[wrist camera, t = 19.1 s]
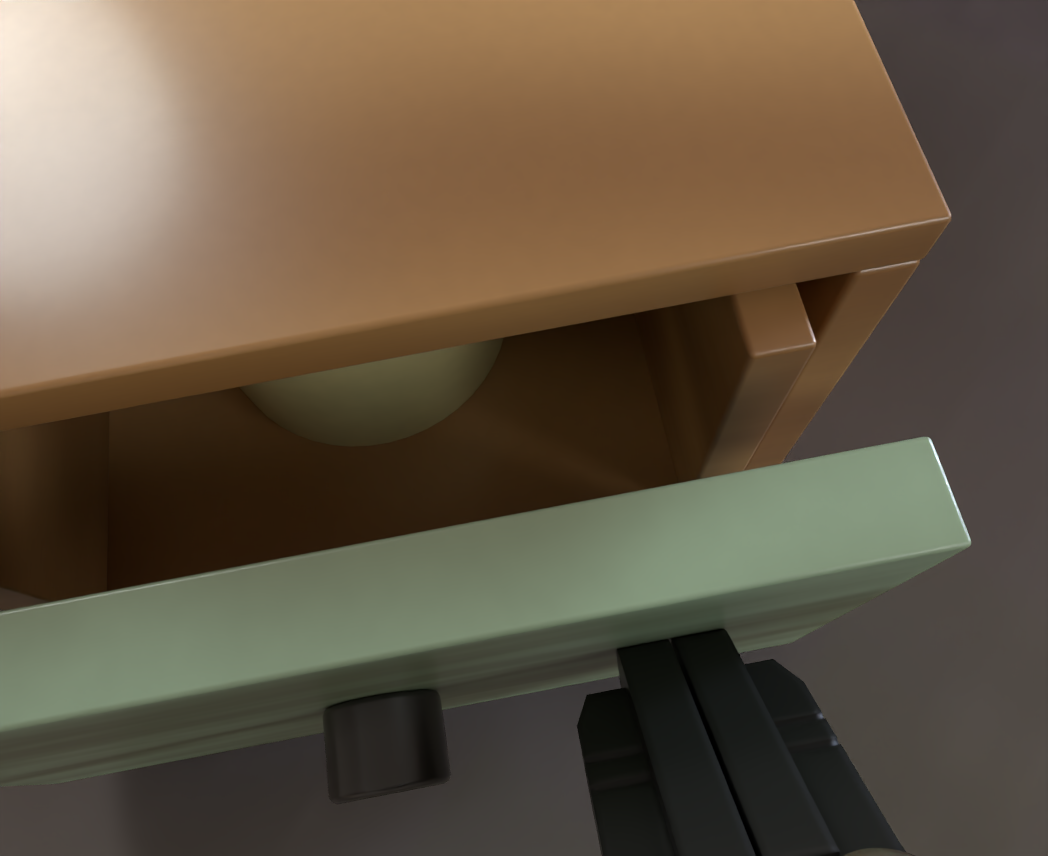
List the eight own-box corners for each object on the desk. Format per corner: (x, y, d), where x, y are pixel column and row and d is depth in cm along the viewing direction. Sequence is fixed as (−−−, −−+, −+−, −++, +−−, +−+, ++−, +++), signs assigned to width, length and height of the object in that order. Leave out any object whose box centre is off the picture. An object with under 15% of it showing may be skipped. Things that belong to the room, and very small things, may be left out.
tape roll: (548, 388, 16) (537, 255, 12) (265, 489, 15) (151, 390, 11) (455, 168, 18) (419, -11, 14) (205, 252, 17) (89, 93, 13)
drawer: (814, 712, 14) (1026, 671, 8) (52, 858, 14) (-424, 949, 7) (600, -11, 21) (612, -376, 14) (79, 83, 21) (-159, -240, 14)
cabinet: (765, 488, 17) (956, 217, 8) (58, 622, 17) (-474, 484, 8) (589, -93, 23) (596, -572, 15) (80, -1, 23) (-202, -433, 15)
